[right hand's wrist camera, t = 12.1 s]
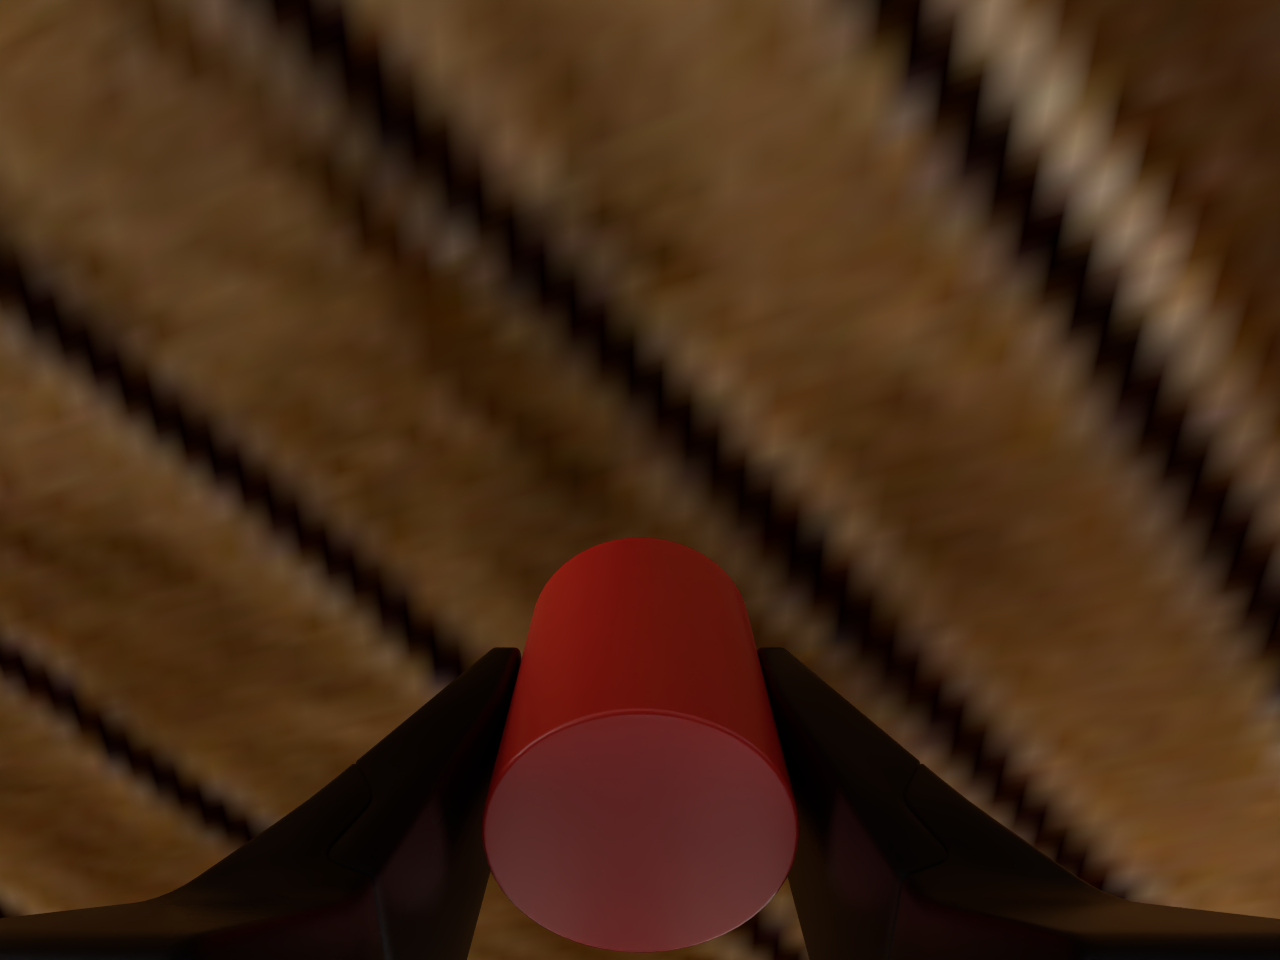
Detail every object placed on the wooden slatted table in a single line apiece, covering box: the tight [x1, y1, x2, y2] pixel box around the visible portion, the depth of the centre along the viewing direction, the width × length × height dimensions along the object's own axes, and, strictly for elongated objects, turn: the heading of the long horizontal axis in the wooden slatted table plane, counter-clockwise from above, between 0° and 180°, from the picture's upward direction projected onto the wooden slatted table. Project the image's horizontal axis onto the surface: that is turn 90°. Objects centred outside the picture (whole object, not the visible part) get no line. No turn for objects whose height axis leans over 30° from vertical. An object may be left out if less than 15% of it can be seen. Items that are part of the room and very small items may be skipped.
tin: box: [481, 538, 800, 952], centre depth 11 cm, size 4×4×4 cm
